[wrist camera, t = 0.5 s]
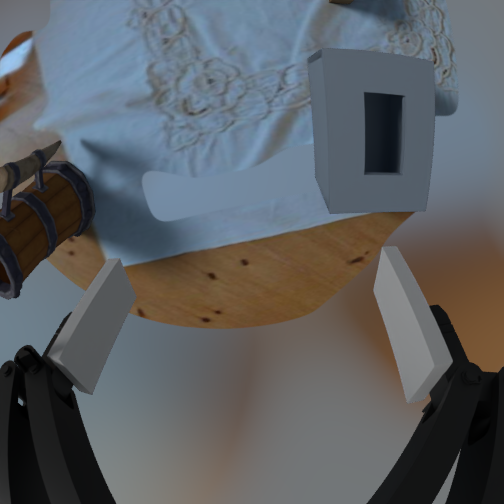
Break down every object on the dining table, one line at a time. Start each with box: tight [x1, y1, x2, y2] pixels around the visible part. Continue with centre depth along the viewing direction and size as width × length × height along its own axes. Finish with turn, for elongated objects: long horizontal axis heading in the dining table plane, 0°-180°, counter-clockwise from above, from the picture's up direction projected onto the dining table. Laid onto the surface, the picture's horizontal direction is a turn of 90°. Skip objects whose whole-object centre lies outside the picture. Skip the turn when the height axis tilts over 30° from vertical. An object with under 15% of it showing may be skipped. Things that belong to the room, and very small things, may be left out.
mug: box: [0, 140, 95, 300], centre depth 30 cm, size 19×14×20 cm
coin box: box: [307, 48, 435, 214], centre depth 26 cm, size 16×11×11 cm
